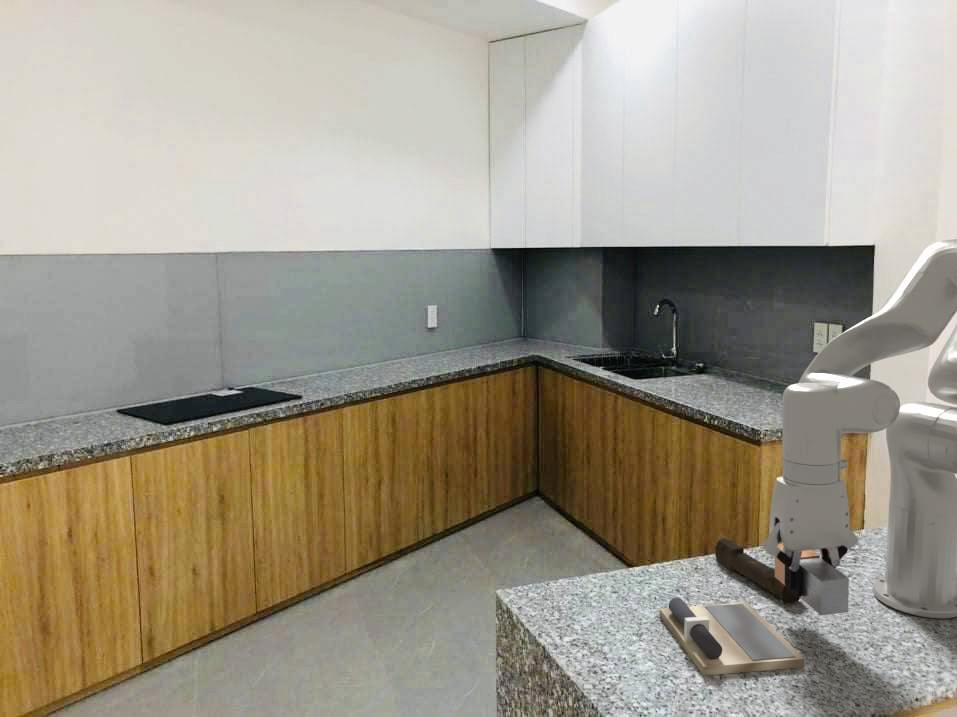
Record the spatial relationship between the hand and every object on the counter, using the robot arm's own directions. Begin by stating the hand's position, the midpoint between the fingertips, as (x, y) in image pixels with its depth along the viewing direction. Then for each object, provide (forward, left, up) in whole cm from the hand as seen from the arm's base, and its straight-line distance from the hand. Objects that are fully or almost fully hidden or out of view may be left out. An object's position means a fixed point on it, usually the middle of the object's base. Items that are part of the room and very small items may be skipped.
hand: (809, 589), depth 104 cm
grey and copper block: (0, 0, -1) cm, 1 cm away
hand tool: (+1, -17, -7) cm, 18 cm away
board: (+13, +1, -6) cm, 14 cm away
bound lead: (+18, +1, -6) cm, 19 cm away
